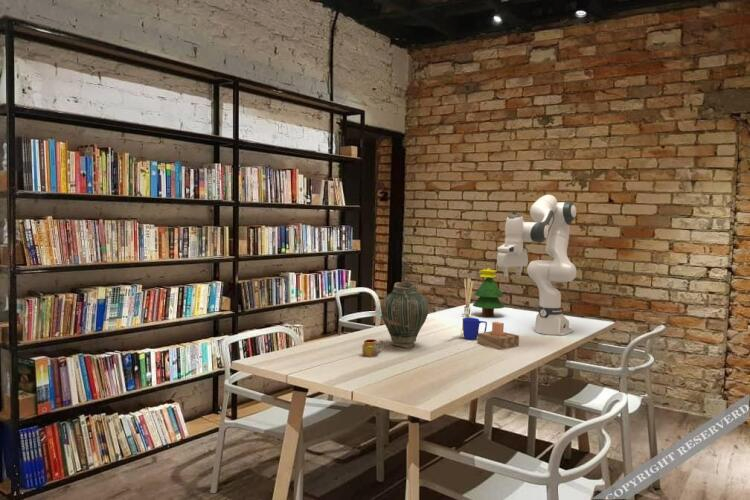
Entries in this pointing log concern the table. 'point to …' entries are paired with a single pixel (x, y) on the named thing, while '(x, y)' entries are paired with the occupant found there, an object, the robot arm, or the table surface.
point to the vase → (404, 313)
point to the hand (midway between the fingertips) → (512, 276)
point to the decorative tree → (488, 294)
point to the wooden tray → (498, 340)
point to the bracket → (498, 329)
